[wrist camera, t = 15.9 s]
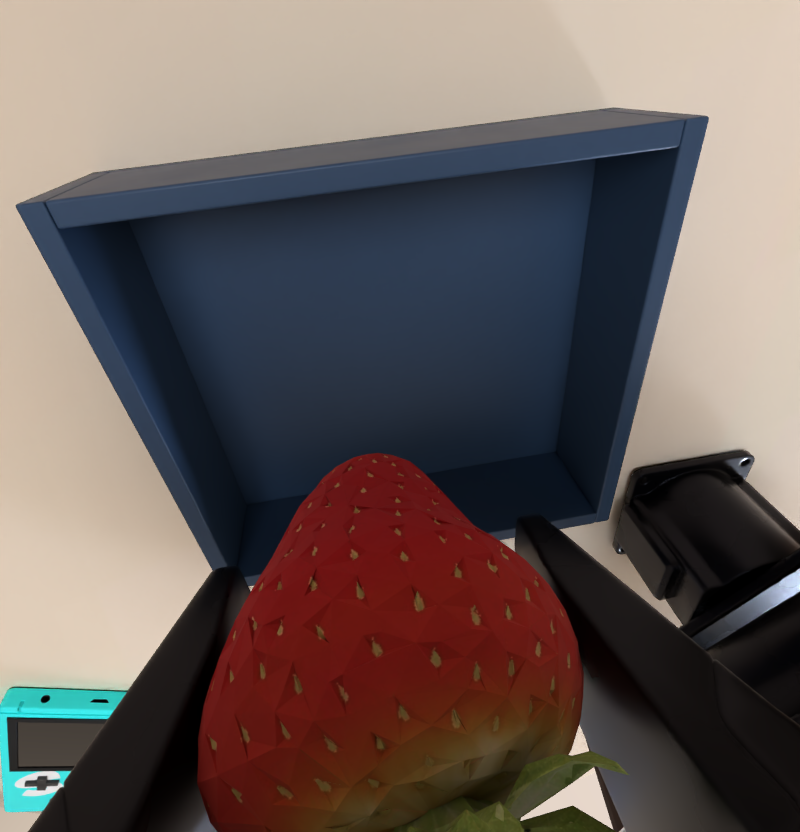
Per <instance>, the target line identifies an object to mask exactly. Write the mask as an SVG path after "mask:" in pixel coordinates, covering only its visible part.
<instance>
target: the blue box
mask: <svg viewBox="0 0 800 832" xmlns="http://www.w3.org/2000/svg"><path fill="white" fill-rule="evenodd" d="M708 120H709V117H707V116H702V115H691V114H679V113H668V112H657V111H645V110H634V109H623V108H607V109H599V110H591V111H583V112H575V113H567V114H559V115H551V116H543V117H535V118H527V119H519V120H511V121H503V122H495V123H487V124H479V125H471V126H463V127H455V128H447V129H439V130H431V131H423V132H415V133H407V134H399V135H391V136H383V137H375V138H367V139H359V140H351V141H343V142H335V143H327V144H319V145H311V146H303V147H295V148H287V149H279V150H271V151H263V152H255V153H247V154H239V155H231V156H223V157H215V158H207V159H199V160H191V161H183V162H175V163H167V164H159V165H151V166H143V167H135V168H127V169H119V170H111V171H103V172H95V173H92V174H89V175H87V176H84V177H82V178H80V179H77V180H75V181H72V182H70V183H67V184H65V185H63V186H60V187H58V188H55V189H53V190H50V191H48V192H46V193H43V194H41V195H38V196H36V197H34V198H31V199H29V200H26V201H24V202H21V203H19V204H17V205H16V208H17V210H18V212H19V214H20V215H21V217H22V219H23V221H24V223H25V225H26V227H27V228H28V230H29V232H30V234H31V236H32V238H33V239H34V241H35V243H36V245H37V247H38V249H39V251H40V252H41V254H42V256H43V258H44V260H45V262H46V263H47V265H48V267H49V269H50V271H51V273H52V275H53V276H54V278H55V280H56V282H57V284H58V286H59V287H60V289H61V291H62V293H63V295H64V297H65V299H66V300H67V302H68V304H69V306H70V308H71V310H72V311H73V313H74V315H75V317H76V319H77V321H78V323H79V324H80V326H81V328H82V330H83V332H84V334H85V335H86V337H87V339H88V341H89V343H90V345H91V347H92V348H93V350H94V352H95V354H96V356H97V358H98V359H99V361H100V363H101V365H102V367H103V369H104V371H105V372H106V374H107V376H108V378H109V380H110V382H111V383H112V385H113V387H114V389H115V391H116V393H117V395H118V396H119V398H120V400H121V402H122V404H123V406H124V408H125V409H126V411H127V413H128V415H129V417H130V419H131V420H132V422H133V424H134V426H135V428H136V430H137V432H138V433H139V435H140V437H141V439H142V441H143V443H144V444H145V446H146V448H147V450H148V452H149V454H150V456H151V457H152V459H153V461H154V463H155V465H156V467H157V468H158V470H159V472H160V474H161V476H162V478H163V480H164V481H165V483H166V485H167V487H168V489H169V491H170V492H171V494H172V496H173V498H174V500H175V502H176V504H177V505H178V507H179V509H180V511H181V513H182V515H183V516H184V518H185V520H186V522H187V524H188V526H189V528H190V529H191V531H192V533H193V535H194V537H195V539H196V540H197V542H198V544H199V546H200V548H201V550H202V552H203V553H204V555H205V557H206V559H207V561H208V563H209V564H210V566H211V568H212V570H215V569H217V568H221V567H227V566H233V565H236V566H238V567H239V568H240V570H241V572H242V574H243V576H244V578H245V580H246V583H247V585H248V586H253V585H255V584H256V582H257V580H258V579H259V577H260V576H261V574H262V572H263V571H264V569H265V568H266V566H267V565H268V563H269V561H270V560H271V558H272V557H273V555H274V553H275V551H276V549H277V547H278V545H279V543H280V541H281V539H282V538H283V536H284V534H285V532H286V530H287V528H288V526H289V524H290V523H291V521H292V519H293V517H294V515H295V513H296V511H297V510H298V508H299V506H300V505H301V504H302V502H303V501H304V500H305V499H306V498H307V497H308V496H309V495H310V494H311V492H312V491H313V490H314V489H315V488H316V487H317V485H318V484H319V483H320V481H321V480H322V479H323V477H325V476H326V475H327V474H328V473H329V472H331V471H332V470H333V469H334V468H335V467H337V466H338V465H340V464H342V463H344V462H346V461H348V460H350V459H352V458H354V457H357V456H361V455H366V454H373V453H383V454H389V455H394V456H397V457H399V458H402V459H405V460H408V461H410V462H411V463H413V464H414V465H415V466H416V467H418V468H419V469H420V470H421V471H422V472H423V473H424V474H425V475H426V476H427V477H428V478H429V479H430V480H431V481H432V482H433V483H434V484H435V485H436V486H437V487H438V488H439V489H440V490H441V491H442V492H443V493H444V494H445V495H446V496H447V497H448V498H449V499H450V501H451V502H452V503H453V504H454V505H455V506H456V507H457V508H458V509H459V510H460V511H461V512H462V513H463V514H464V515H465V517H466V518H467V519H468V520H469V521H470V522H471V523H472V524H473V525H474V526H476V527H477V528H479V529H481V530H482V531H484V532H486V533H489V534H491V535H492V536H494V537H495V538H496V539H498V540H504V539H509V538H514V537H515V533H516V521H517V518H518V517H519V516H522V515H528V514H534V513H538V514H540V515H542V516H543V517H545V518H546V519H547V520H548V521H549V522H551V523H552V524H553V525H554V526H555V527H557V528H558V529H563V528H569V527H574V526H580V525H585V524H591V523H594V522H601V521H606V520H608V519H609V515H610V511H611V507H612V503H613V499H614V495H615V491H616V487H617V483H618V479H619V475H620V471H621V467H622V463H623V459H624V455H625V451H626V447H627V443H628V439H629V435H630V431H631V427H632V423H633V419H634V415H635V411H636V407H637V403H638V399H639V395H640V391H641V387H642V383H643V379H644V375H645V371H646V367H647V363H648V359H649V355H650V351H651V347H652V343H653V339H654V335H655V331H656V327H657V323H658V319H659V315H660V311H661V307H662V303H663V299H664V295H665V291H666V287H667V283H668V279H669V275H670V272H671V268H672V264H673V260H674V256H675V252H676V248H677V244H678V240H679V236H680V232H681V228H682V224H683V220H684V216H685V212H686V208H687V204H688V200H689V196H690V192H691V188H692V184H693V180H694V176H695V172H696V168H697V164H698V160H699V156H700V152H701V148H702V144H703V140H704V136H705V132H706V128H707V124H708Z"/></svg>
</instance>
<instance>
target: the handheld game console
mask: <svg viewBox="0 0 800 832" xmlns="http://www.w3.org/2000/svg"><path fill="white" fill-rule="evenodd" d="M126 693H127V692H119V691H92V690H66V689H39V688H11V689H9V690H8V691H7V692H6V694H5V696H4V698H3V700H2V702H1V704H0V752H1V766H2V780H3V794H4V808H5V811H6V812H30V811H43V810H44V809H45V807H46V806H47V804H48V803H49V802H50V800H51V799H52V797H53V796H54V794H55V793H56V792H57V790H58V789H59V788H60V787H64V781H65V779H66V778H67V776H68V775H69V774H70V772H71V771H72V769H73V768H74V766H75V765H76V764H77V762H78V761H79V759H80V758H81V757H82V755H83V754H84V752H85V751H86V749H87V748H88V747H89V745H90V744H91V742H92V741H93V739H94V738H95V737H96V735H97V734H98V732H99V731H100V730H101V728H102V727H103V725H104V724H105V722H106V721H107V720H108V718H109V717H110V715H111V714H112V713H113V711H114V710H115V708H116V707H117V705H118V704H119V703H120V701H121V700H122V698H123V697H124V696H125V694H126Z"/></svg>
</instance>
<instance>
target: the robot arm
mask: <svg viewBox="0 0 800 832" xmlns="http://www.w3.org/2000/svg"><path fill="white" fill-rule="evenodd" d="M753 462H754V456H752V455H751V454H750V453H749V452H747V451H738V452H733V453H727V454H721V455H716V456H710V457H704V458H699V459H693V460H687V461H682V462H676V463H670V464H665V465H659V466H653V467H648V468H642V469H639V470H637V471H636V472H634V473H633V475H632V476H631V480H630V483H629V487H628V491H627V494H626V498H625V502H624V505H623V509H622V513H621V516H620V520H619V524H618V527H617V531H616V535H615V538H614V542H613V548H614V549H615V551H616V552H617V554H626V555H627V556H628V558H629V559H630V561H631V562H632V564H633V565H634V567H635V568H636V570H637V571H638V573H639V574H640V576H641V577H642V579H643V580H644V582H645V583H646V585H647V586H648V588H649V589H650V591H651V593H652V594H653V596H654V597H656V598H657V599H658V600H664V599H666V601H667V602H668V604H669V605H670V607H671V608H672V610H673V611H674V613H675V614H676V616H677V617H678V619H679V620H680V621H681V623H682V624H683V625H682V626H681V627H679V628H677V627H676V626H675V625H674V624H673V623H671V622H670V621H669V620H668V619H667V618H665V617H664V616H663V615H662V614H661V613H659V612H658V611H657V610H656V609H655V608H653V607H652V606H651V605H650V604H648V603H647V602H646V601H645V600H644V599H642V598H641V597H640V596H639V595H638V594H636V593H635V592H634V591H633V590H632V589H630V588H629V587H628V586H627V585H626V584H624V583H623V582H622V581H621V580H619V579H618V578H617V577H616V576H615V575H613V574H612V573H611V572H610V571H609V570H607V569H606V568H605V567H604V566H603V565H601V564H600V563H599V562H598V561H597V560H595V559H594V558H593V557H592V556H591V555H589V554H588V553H587V552H586V551H584V550H583V549H582V548H581V547H580V546H578V545H577V544H576V543H575V542H574V541H572V540H571V539H570V538H569V537H568V536H566V535H565V534H564V533H563V532H562V531H560V530H559V529H558V528H557V527H555V526H554V525H553V524H552V523H551V522H549V521H548V520H547V519H546V518H545V517H543V516H542V515H540V514H538V513H534V514H528V515H522V516H519V517H518V518H517V521H516V533H515V552H516V553H517V554H518V555H520V556H521V557H523V558H524V559H525V560H526V561H527V562H528V563H529V564H530V565H531V566H532V567H533V568H534V569H535V570H536V571H537V572H538V573H539V574H540V575H541V576H542V577H543V578H544V579H545V581H546V582H547V583H548V584H549V585H550V587H551V588H552V590H553V591H554V593H555V594H556V596H557V598H558V599H559V601H560V602H561V604H562V605H563V607H564V609H565V610H566V613H567V615H568V618H569V621H570V623H571V626H572V628H573V631H574V633H575V636H576V638H577V641H578V647H579V653H580V658H581V662H582V667H583V672H584V686H583V702H582V711H581V719H580V723H579V724H580V727H581V729H582V731H583V734H584V736H585V738H586V741H587V743H588V745H589V747H590V750H591V751H592V752H595V753H597V754H599V755H602V756H604V757H606V758H608V759H611V760H613V761H615V762H617V763H618V764H619V765H620V766H621V767H622V768H623V769H624V770H625V771H626V772H627V773H628V774H629V775H626V774H622V773H619V772H615V771H612V770H608V769H604V768H601V767H598V768H599V771H600V773H601V775H602V778H603V780H604V782H605V784H606V787H607V789H608V791H609V794H610V796H611V798H612V801H613V803H614V805H615V808H616V810H617V812H618V815H619V817H620V819H621V822H622V824H623V826H624V828H625V831H626V832H800V531H799V530H798V529H797V528H796V527H795V526H794V525H793V524H792V523H791V522H790V521H789V520H787V519H786V518H785V517H784V516H783V515H782V514H781V513H780V512H779V511H778V510H777V509H776V508H775V507H773V506H772V505H771V504H770V503H769V502H768V501H767V500H766V499H765V498H764V497H763V496H762V495H760V494H759V493H758V492H757V491H756V490H755V489H754V488H753V487H752V486H751V485H750V484H749V483H748V482H746V481H745V479H746V477H747V475H748V473H749V471H750V469H751V466H752V464H753ZM250 592H251V591H250V589H249V587H248V585H247V583H246V580H245V578H244V576H243V574H242V572H241V570H240V568H239V567H238V566H236V565H233V566H227V567H221V568H217V569H215V570H213V571H212V572H211V574H210V575H209V576H208V578H207V579H206V581H205V582H204V583H203V585H202V586H201V588H200V589H199V591H198V592H197V593H196V595H195V596H194V598H193V599H192V600H191V602H190V603H189V605H188V606H187V608H186V609H185V610H184V612H183V613H182V615H181V616H180V618H179V619H178V620H177V622H176V623H175V625H174V626H173V627H172V629H171V630H170V632H169V633H168V635H167V636H166V637H165V639H164V640H163V642H162V643H161V644H160V646H159V647H158V649H157V650H156V652H155V653H154V654H153V656H152V657H151V659H150V660H149V661H148V663H147V664H146V666H145V667H144V669H143V670H142V671H141V673H140V674H139V676H138V677H137V679H136V680H135V681H134V683H133V684H132V686H131V687H130V688H129V690H128V691H127V693H126V694H125V696H124V697H123V698H122V700H121V701H120V703H119V704H118V705H117V707H116V708H115V710H114V711H113V713H112V714H111V715H110V717H109V718H108V720H107V721H106V722H105V724H104V725H103V727H102V728H101V730H100V731H99V732H98V734H97V735H96V737H95V738H94V739H93V741H92V742H91V744H90V745H89V747H88V748H87V749H86V751H85V752H84V754H83V755H82V757H81V758H80V759H79V761H78V762H77V764H76V765H75V766H74V768H73V769H72V771H71V772H70V774H69V775H68V776H67V778H66V779H65V781H64V787H60V788H59V789H58V790H57V792H56V793H55V794H54V796H53V797H52V799H51V800H50V802H49V803H48V804H47V806H46V807H45V809H44V810H43V811H42V813H41V814H40V816H39V817H38V819H37V820H36V821H35V823H34V824H33V825H32V827H31V828H30V830H29V831H28V832H217V831H216V829H215V828H214V827H213V826H212V824H211V823H210V821H209V818H208V815H207V812H206V809H205V806H204V803H203V800H202V797H201V794H200V791H199V787H198V784H197V774H198V734H199V729H200V723H201V717H202V712H203V706H204V702H205V699H206V696H207V692H208V689H209V686H210V683H211V680H212V677H213V674H214V671H215V669H216V666H217V663H218V660H219V657H220V655H221V652H222V650H223V648H224V645H225V643H226V641H227V638H228V636H229V634H230V631H231V629H232V627H233V624H234V622H235V619H236V618H237V616H238V614H239V612H240V610H241V608H242V607H243V605H244V603H245V601H246V599H247V598H248V596H249V594H250Z"/></svg>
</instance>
